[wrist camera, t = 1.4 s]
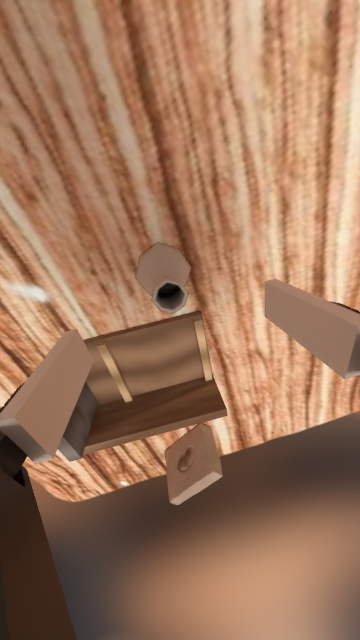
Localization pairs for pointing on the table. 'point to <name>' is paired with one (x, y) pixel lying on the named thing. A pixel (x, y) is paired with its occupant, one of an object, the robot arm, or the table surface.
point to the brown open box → (143, 386)
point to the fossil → (192, 464)
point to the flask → (164, 276)
